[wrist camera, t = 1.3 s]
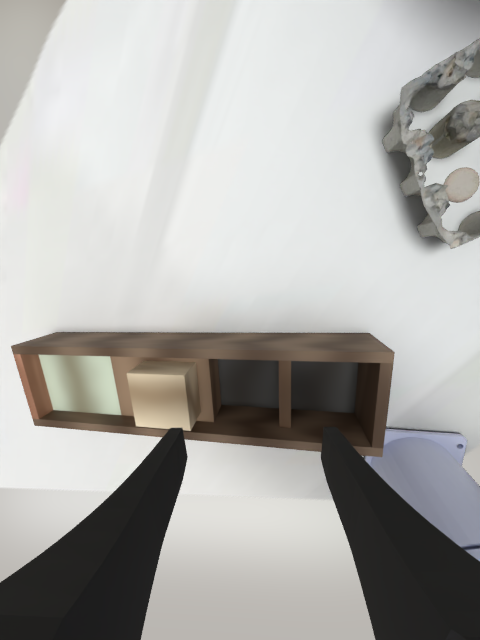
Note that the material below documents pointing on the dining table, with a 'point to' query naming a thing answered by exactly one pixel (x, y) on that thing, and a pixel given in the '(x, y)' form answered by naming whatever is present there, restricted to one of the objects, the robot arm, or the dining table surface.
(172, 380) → the beech block
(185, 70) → the dining table surface
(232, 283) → the dining table surface
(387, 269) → the dining table surface
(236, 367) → the brown wooden long box
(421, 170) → the egg carton
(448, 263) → the dining table surface
